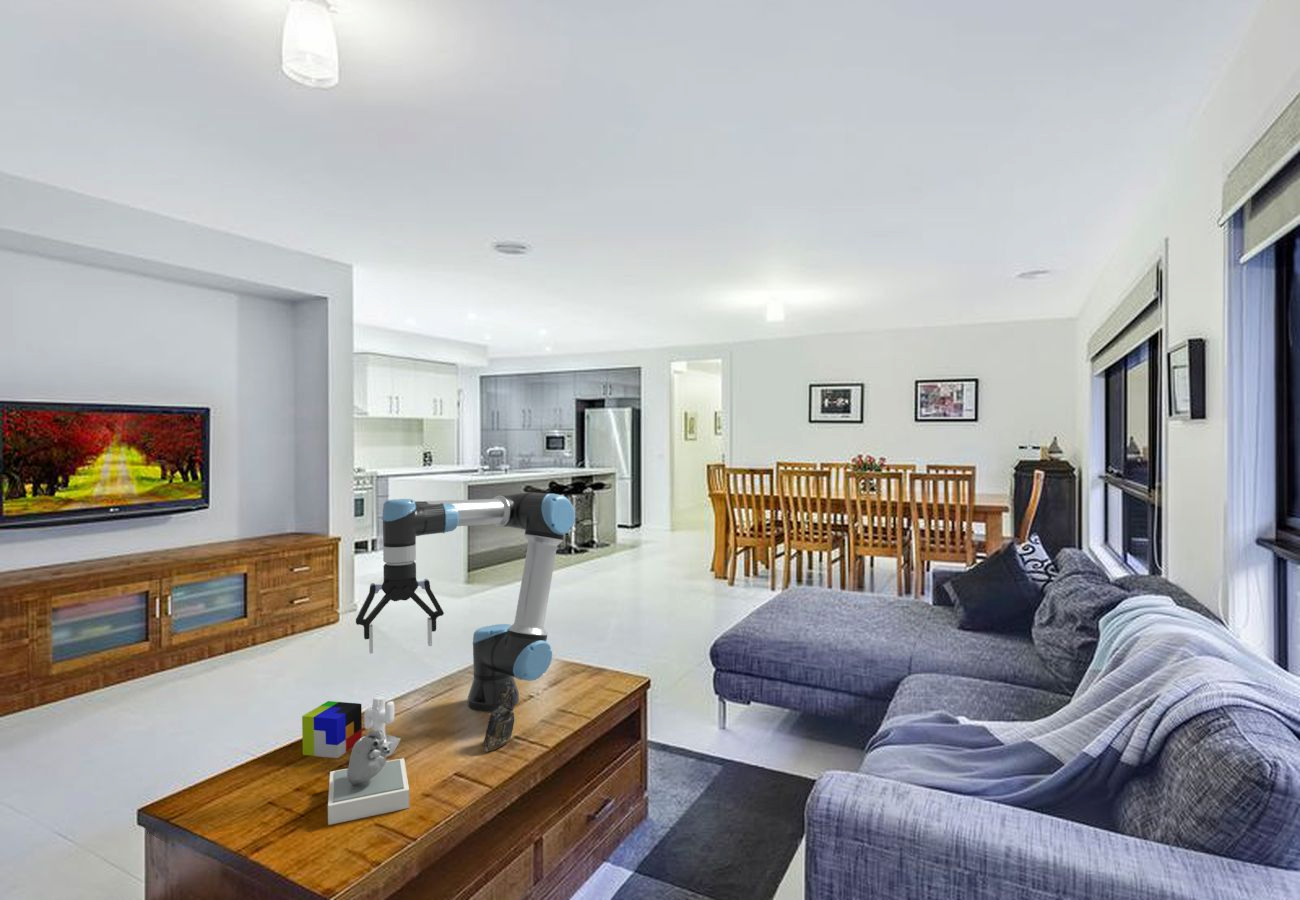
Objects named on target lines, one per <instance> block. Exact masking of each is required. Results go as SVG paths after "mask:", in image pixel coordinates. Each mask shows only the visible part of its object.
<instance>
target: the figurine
mask: <svg viewBox="0 0 1300 900" xmlns="http://www.w3.org/2000/svg"><path fill="white" fill-rule="evenodd" d="M363 715H364V716H363V722H364V723H363V724H364V725H363V726H364V727H363V728H364V729H365V730H370V729H372V728H373V729H377V730H379V731H380V730H381V731H382V732H383V735H384V738H387V739H388V741H389V742H390V743H391V745H390V749H389V750H390V753H389V754H387V755H386V758H388V757H390V756H391V755H393V754H394V753H395V750H396V749H397V746H399V743H400V742H401V739H402V738H400V737H397V736H393V735H389V734H386V725H391V724H393V722H394V720H395V701H388V702H386V696H384V695H376V696H375V697H373V698H372V705H371V706H370V707H367V708H366V709H365V710H364V714H363Z"/></svg>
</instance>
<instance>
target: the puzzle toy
mask: <svg viewBox="0 0 1300 900" xmlns="http://www.w3.org/2000/svg"><path fill="white" fill-rule="evenodd" d="M362 715H363V713H362V703H358V702H357V703H356V702H343V701H334V700H333V701H330V700H328V701H326V702H324V703H322V704H321V705H318V706H317V707H315V708H314V709H312V710H310V711H309V712H306V713H305V714H303V715H302V716H301V722H302V724H301V725H302V726H301V727H302V728H301V730H302V732H301V733H302V755H303V756H311V757H312V756H313V757H323V758H331V759H333V758H334V759H338V758H340V757H341V756H343V755H345V754H346V753H347V752H348V751H350V750H352V749H353V746H354V744H355V743H356V742H357V741H358V740H359V739H360V738H362V737H363V728H362V727H363V725H362V724H363V722H362V721H363V719H362V717H363V716H362Z"/></svg>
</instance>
